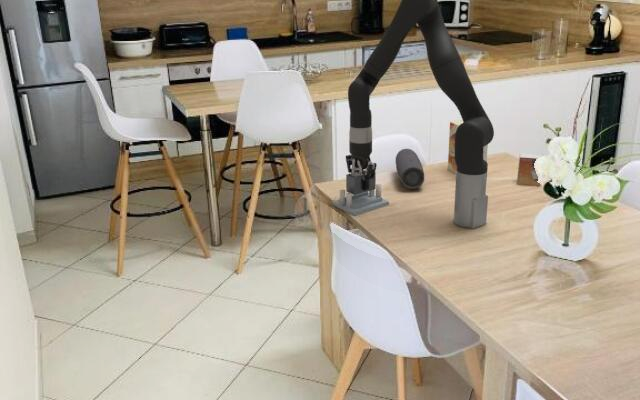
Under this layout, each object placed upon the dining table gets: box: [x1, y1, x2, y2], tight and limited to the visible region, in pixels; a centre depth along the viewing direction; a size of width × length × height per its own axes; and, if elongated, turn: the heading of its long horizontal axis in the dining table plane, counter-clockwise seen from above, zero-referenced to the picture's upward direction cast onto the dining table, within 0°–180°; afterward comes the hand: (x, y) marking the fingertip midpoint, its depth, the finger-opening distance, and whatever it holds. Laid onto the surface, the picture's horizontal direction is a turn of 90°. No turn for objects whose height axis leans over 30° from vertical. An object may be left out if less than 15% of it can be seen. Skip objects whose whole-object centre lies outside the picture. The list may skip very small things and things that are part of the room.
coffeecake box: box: [447, 119, 489, 175], centre depth 242 cm, size 15×7×20 cm, turn 25°
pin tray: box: [332, 183, 390, 216], centre depth 218 cm, size 12×15×6 cm
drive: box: [345, 169, 377, 195], centre depth 216 cm, size 4×9×6 cm, turn 125°
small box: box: [516, 152, 543, 187], centre depth 233 cm, size 8×6×10 cm
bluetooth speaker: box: [395, 148, 425, 190], centre depth 238 cm, size 23×9×10 cm, turn 179°
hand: (360, 187), depth 217 cm, fingers closed on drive, 4 cm apart
